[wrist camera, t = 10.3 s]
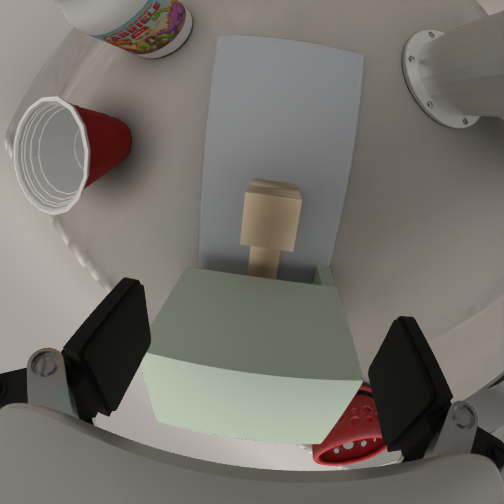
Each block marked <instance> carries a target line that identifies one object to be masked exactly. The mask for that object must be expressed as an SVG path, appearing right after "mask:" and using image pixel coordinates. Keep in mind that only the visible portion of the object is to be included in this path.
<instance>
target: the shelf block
mask: <svg viewBox="0 0 504 504" xmlns="http://www.w3.org/2000/svg"><path fill="white" fill-rule="evenodd" d="M150 333H151V344H150V347H149V349H148V351H147V353H146V354H145V356H144V358H143V360H142V362H141V364H140V365H141V368H142V372H143V376H144V380H145V383H146V387H147V390H148V394H149V397H150V400H151V404H152V407H153V410H154V413H155V416H156V419H157V421H158V422H161V423H165V424H168V425H172V426H176V427H180V428H184V429H189V430H193V431H197V432H202V433H208V434H213V435H219V436H225V437H231V438H237V439H245V440H253V441H264V442H276V443H293V444H321V443H322V442H323V440H324V439H325V438H326V436H327V435H328V434H329V432H330V431H331V430H332V428H333V427H334V425H335V424H336V423H337V421H338V420H339V418H340V417H341V415H342V414H343V413H344V411H345V410H346V408H347V407H348V405H349V403H350V402H351V400H352V399H353V397H354V396H355V394H356V392H357V391H358V389H359V388H360V386H361V384H362V383H363V381H364V380H363V376H362V372H361V368H360V364H359V361H358V357H357V353H356V350H355V346H354V343H353V339H352V336H351V332H350V329H349V325H348V322H347V319H346V316H345V312H344V309H343V306H342V303H341V300H340V297H339V293H338V290H337V287H336V284H335V281H334V278H333V275H332V272H331V270H330V267H329V266H322V265H317V267H316V271H315V275H314V279H313V283H312V284H306V283H298V282H290V281H283V280H275V279H268V278H260V277H253V276H246V275H239V274H232V273H225V272H218V271H212V270H205V269H198V268H192V267H187V268H186V269H185V271H184V273H183V274H182V276H181V277H180V279H179V281H178V282H177V284H176V285H175V287H174V289H173V290H172V292H171V293H170V295H169V297H168V298H167V300H166V302H165V303H164V305H163V306H162V308H161V310H160V311H159V313H158V315H157V316H156V318H155V320H154V321H153V323H152V325H151V326H150Z"/></svg>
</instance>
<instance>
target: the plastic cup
mask: <svg viewBox="0 0 504 504" xmlns="http://www.w3.org/2000/svg"><path fill="white" fill-rule="evenodd" d="M130 147H131V134H130V131H129V129H128V127H127V126H126V124H124V123H123V122H121V121H120V120H118V119H116V118H113V117H110V116H108V115H106V114H103V113H99V112H96V111H92V110H88V109H85V108H81V107H79V106H76V105H72V104H71V103H68V102H67V101H65V100H64V99H62V98H60V97H43V98H41V99H40V100H38V101H37V102H35V103H34V104H33V105H31V106H30V107H29V108H28V109H27V111H26V113H25V114H24V116H23V117H22V119H21V121H20V122H19V125H18V129H17V133H16V136H15V140H14V166H15V171H16V175H17V179H18V183H19V185H20V186H21V188H22V190H23V192H24V194H25V196H26V198H27V199H28V200H29V201H30V202H31V203H32V204H33V205H34V206H35V207H36V208H37V209H38V210H40V211H42V212H45V213H48V214H51V215H57V214H60V213H64V212H67V211H68V210H69V209H70V208H71V207H72V206H73V205H74V204H75V203H76V202H77V201H78V200H79V199H80V197H81V195H82V193H83V190H84V189H85V188H86V187H87V186H89V185H90V184H92V183H93V182H94V181H96V180H97V179H99V178H100V177H101V176H103V175H104V174H106V173H107V172H108V171H109V170H111V169H112V168H114V167H116V166H117V165H118V164H120V163H121V162H122V161H123V160H124V159H125V158H126V156H127V154H128V153H129V151H130Z"/></svg>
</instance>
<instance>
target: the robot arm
mask: <svg viewBox="0 0 504 504" xmlns="http://www.w3.org/2000/svg"><path fill="white" fill-rule="evenodd" d="M409 60H410V61H409ZM402 64H403V71H404V75H405V79H406V82H407V84H408V87H409V89H410V91H411V93H412V95H413V96H414V98H415V100H416V101H417V102H418V104H419V105H420V107H421V108H422V109H423V110H424V111H425V112H426V113H427V114H428V115H429V116H430V117H431V118H433V119H434V120H435V121H437V122H439V123H440V124H442V125H444V126H448V127H451V128H467V127H470V126H472V125H473V124H475V123H476V122H477V121H478V120H479V118H480V117H481V116H490V117H499V118H501V119H502V120H504V11H501V12H498V13H495V14H493V15H490V16H487V17H484V18H482V19H479V20H477V21H474V22H472V23H469V24H467V25H464V26H462V27H460V28H457V29H455V30H453V31H451V32H449V33H444V32H442V31H438V30H429V29H426V30H422V31H419V32H417V33H416V34H414V35H413V36H412V37H410V38H409V39H408V41H407V43H406V44H405V47H404V50H403V56H402ZM427 105H428V106H427ZM150 344H151V333H150V327H149V321H148V314H147V307H146V299H145V291H144V286H143V285H141V284H140V282H139V280H136V279H131V278H126V277H125V278H123V279H122V280H121V281H120V282H119V283H118V284H117V285H116V286H115V287H114V289H113V290H112V291H111V292H110V293H109V294H108V295H107V296H106V297H105V299H104V300H103V301H102V302H101V303H100V304H99V305H98V306H97V308H96V309H95V310H94V311H93V312H92V313H91V314H90V316H89V317H88V318H87V319H86V320H85V321H84V323H83V324H82V325H81V326H80V328H79V329H78V330H77V331H76V332H75V334H74V335H73V336H72V337H71V338H70V340H69V341H68V342H67V343H66V345H65V346H64V347H63V348H64V349H63V350H62V351H61V353H60V352H59V351H58V350H56V349H53V348H43V349H40V350H38V351H36V352H35V353H33V355H32V356H31V357H30V358H29V361H28V363H27V368H23V369H19V370H15V371H10V372H6V373H2V374H0V504H504V443H503V442H502V441H501V440H499V439H498V438H496V437H494V436H493V435H491V434H490V433H488V432H486V431H484V430H483V429H481V428H479V427H478V416H477V412H476V411H475V409H474V408H473V406H472V405H470V404H469V403H467V402H465V401H456V402H454V403H453V404H451V401H450V400H451V399H452V398H453V395H452V393H451V390H450V388H449V386H448V384H447V381H446V379H445V377H444V375H443V373H442V371H441V368H440V366H439V364H438V362H437V360H436V358H435V356H434V354H433V352H432V350H431V348H430V346H429V344H428V342H427V340H426V339H425V337H424V335H423V333H422V331H421V329H420V327H419V326H418V324H417V322H416V320H415V319H414V317H406V316H400V317H398V318H397V320H394V321H393V323H392V325H391V327H390V329H389V331H388V333H387V335H386V337H385V339H384V341H383V343H382V345H381V347H380V349H379V351H378V353H377V355H376V356H375V358H374V360H373V362H372V364H371V365H370V367H369V371H368V376H369V380H370V384H371V388H372V393H373V397H374V401H375V406H376V410H377V415H378V419H379V424H380V429H381V434H382V439H383V443H384V445H387V450H388V452H392V451H398V450H401V452H402V455H401V457H400V458H399V460H398V462H397V464H392V465H385V466H378V467H371V468H362V469H351V470H336V471H284V470H269V469H257V468H248V467H240V466H233V465H227V464H221V463H215V462H210V461H205V460H200V459H195V458H191V457H187V456H182V455H178V454H175V453H171V452H167V451H163V450H160V449H156V448H153V447H150V446H147V445H144V444H141V443H138V442H135V441H133V440H130V439H127V438H124V437H121V436H118V435H116V434H113V433H111V432H108V431H106V430H103V429H101V428H99V427H97V424H96V420H95V417H96V415H97V413H98V412H99V413H101V414H104V415H106V416H108V417H109V416H110V414H111V412H112V411H116V410H117V408H118V406H119V404H120V402H121V400H122V398H123V396H124V394H125V392H126V390H127V388H128V387H129V385H130V383H131V381H132V379H133V377H134V375H135V373H136V371H137V369H138V367H139V366H140V364H141V362H142V360H143V358H144V356H145V354H146V353H147V351H148V349H149V347H150Z"/></svg>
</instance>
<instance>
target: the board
mask: <svg viewBox="0 0 504 504" xmlns="http://www.w3.org/2000/svg"><path fill="white" fill-rule="evenodd" d="M363 66H364V55H362V54H358V53H355V52H351V51H347V50H343V49H338V48H334V47H329V46H324V45H319V44H314V43H308V42H302V41H295V40H288V39H279V38H269V37H257V36H235V35H218V38H217V45H216V52H215V59H214V66H213V73H212V81H211V89H210V98H209V107H208V116H207V126H206V137H205V148H204V161H203V174H202V190H201V208H200V230H199V262H198V269H205V270H212V271H218V272H225V273H232V274H239V275H246V276H247V273H248V265H249V256H250V248H251V246H247V245H240V239H241V229H242V219H243V210H244V200H245V192H246V190H247V188H248V187H249V185H250V183H251V181H252V179H253V178H255V179H263V180H271V181H278V182H285V183H292V184H296V185H297V187H298V190H299V193H300V195H301V198H302V204H301V210H300V216H299V222H298V228H297V233H296V239H295V244H294V250H293V252H291V251H284V250H281V251H280V257H279V263H278V269H277V275H276V280H283V281H290V282H298V283H306V284H312V283H313V279H314V275H315V271H316V267H317V265H322V266H330V262H331V258H332V254H333V250H334V246H335V242H336V238H337V233H338V229H339V225H340V220H341V215H342V211H343V206H344V201H345V196H346V191H347V185H348V180H349V175H350V169H351V163H352V157H353V151H354V144H355V138H356V131H357V123H358V116H359V107H360V99H361V89H362V78H363Z"/></svg>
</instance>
